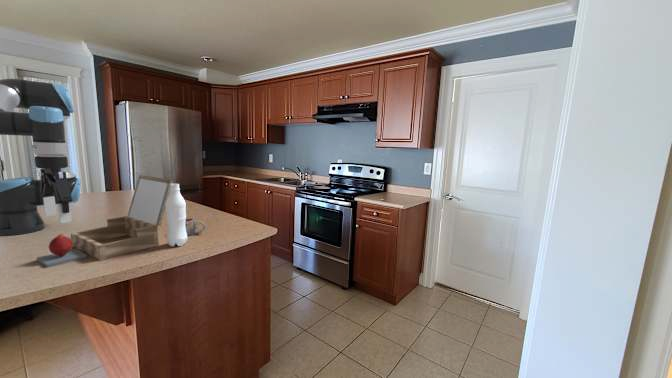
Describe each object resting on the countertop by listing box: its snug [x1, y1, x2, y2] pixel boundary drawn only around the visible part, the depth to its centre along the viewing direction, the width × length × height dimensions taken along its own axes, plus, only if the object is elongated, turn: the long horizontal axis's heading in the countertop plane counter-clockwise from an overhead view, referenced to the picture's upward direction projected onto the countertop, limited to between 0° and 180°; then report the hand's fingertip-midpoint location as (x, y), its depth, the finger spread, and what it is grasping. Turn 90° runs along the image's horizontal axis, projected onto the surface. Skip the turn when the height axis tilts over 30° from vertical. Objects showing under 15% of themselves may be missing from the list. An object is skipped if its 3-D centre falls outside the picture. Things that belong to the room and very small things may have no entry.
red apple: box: [48, 232, 74, 256], centre depth 94 cm, size 6×6×8 cm
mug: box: [185, 218, 206, 236], centre depth 126 cm, size 12×7×7 cm, turn 86°
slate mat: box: [36, 248, 88, 268], centre depth 95 cm, size 10×10×1 cm
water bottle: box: [165, 183, 188, 247], centre depth 111 cm, size 7×7×25 cm
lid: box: [127, 174, 174, 227], centre depth 118 cm, size 25×19×1 cm
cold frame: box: [70, 215, 159, 261], centre depth 109 cm, size 25×19×8 cm
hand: (58, 218), depth 93 cm, fingers open, 13 cm apart
